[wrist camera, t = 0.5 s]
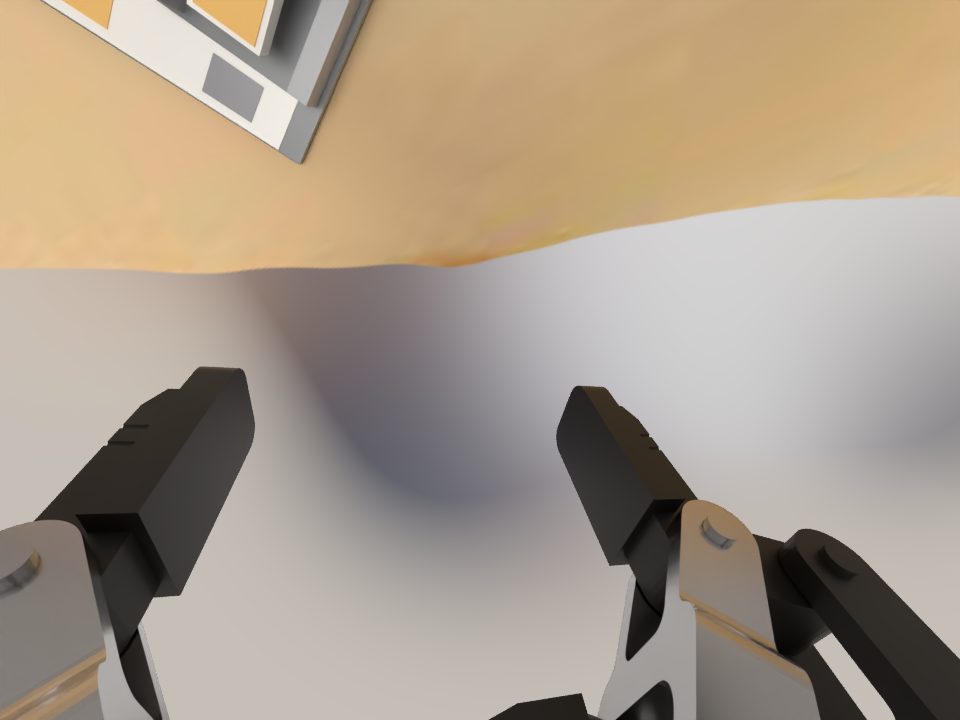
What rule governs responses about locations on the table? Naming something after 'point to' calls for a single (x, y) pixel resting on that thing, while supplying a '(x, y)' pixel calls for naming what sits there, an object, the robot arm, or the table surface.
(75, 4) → the switch unit
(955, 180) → the table surface
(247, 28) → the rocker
